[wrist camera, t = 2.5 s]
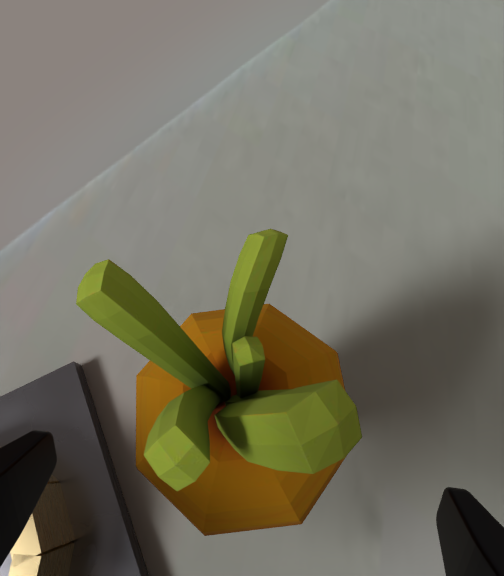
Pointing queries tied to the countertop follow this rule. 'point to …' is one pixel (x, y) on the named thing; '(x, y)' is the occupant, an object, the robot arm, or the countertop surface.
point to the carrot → (230, 397)
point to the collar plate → (70, 486)
